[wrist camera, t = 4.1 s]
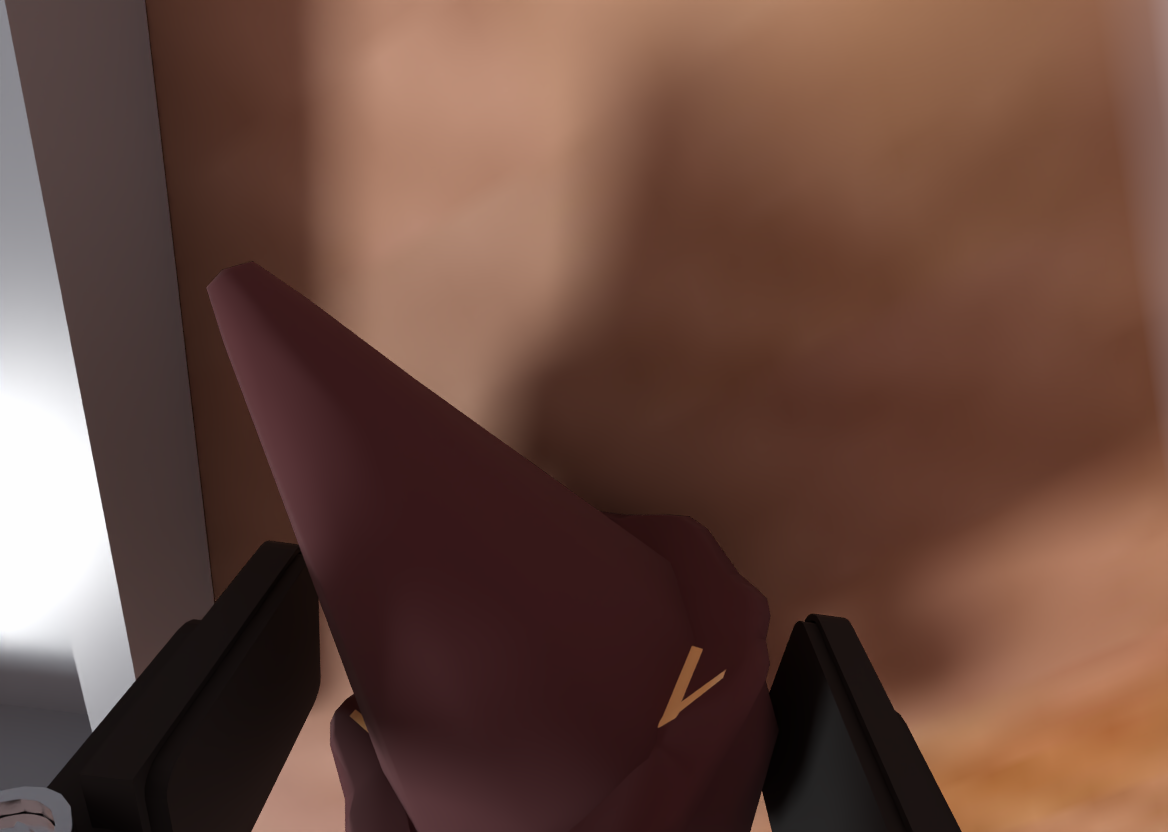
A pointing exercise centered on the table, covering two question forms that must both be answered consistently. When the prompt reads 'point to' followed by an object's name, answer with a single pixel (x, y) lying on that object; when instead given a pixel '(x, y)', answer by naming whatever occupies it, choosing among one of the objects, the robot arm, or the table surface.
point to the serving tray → (87, 383)
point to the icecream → (496, 607)
